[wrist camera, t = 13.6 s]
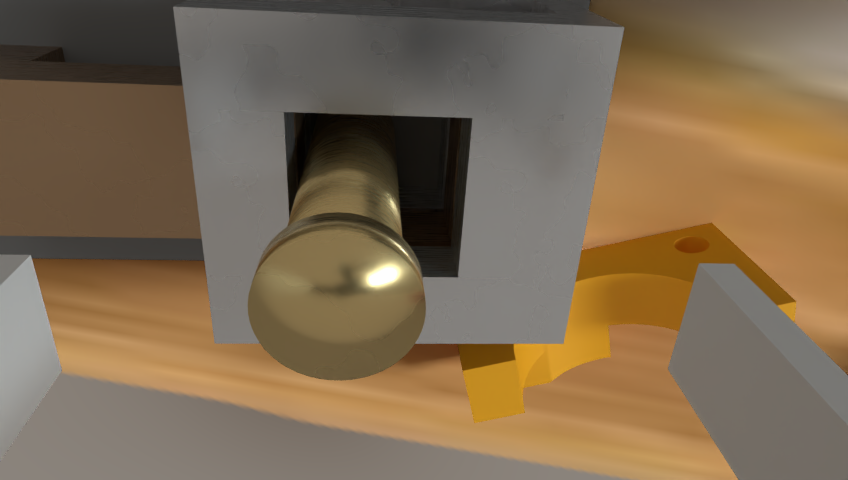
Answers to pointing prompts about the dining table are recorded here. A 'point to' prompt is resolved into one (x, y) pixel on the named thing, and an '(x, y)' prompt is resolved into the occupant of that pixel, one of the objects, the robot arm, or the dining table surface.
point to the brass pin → (341, 260)
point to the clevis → (291, 135)
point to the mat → (157, 46)
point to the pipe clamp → (607, 311)
